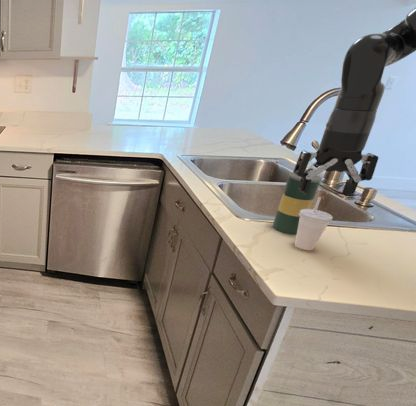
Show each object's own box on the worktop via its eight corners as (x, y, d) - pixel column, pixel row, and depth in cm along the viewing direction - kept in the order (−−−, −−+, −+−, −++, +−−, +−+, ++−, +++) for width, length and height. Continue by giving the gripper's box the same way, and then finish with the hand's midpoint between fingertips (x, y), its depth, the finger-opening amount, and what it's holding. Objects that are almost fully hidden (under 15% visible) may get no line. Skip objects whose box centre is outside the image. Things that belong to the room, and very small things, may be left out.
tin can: (306, 231, 104) (327, 177, 97) (293, 236, 101) (313, 182, 95) (279, 221, 110) (297, 170, 103) (266, 226, 107) (283, 174, 100)
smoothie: (302, 239, 100) (319, 192, 94) (326, 251, 94) (347, 201, 88) (282, 242, 99) (298, 194, 93) (305, 254, 93) (324, 204, 87)
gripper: (317, 130, 83) (296, 196, 89) (399, 132, 78) (370, 202, 85) (302, 124, 89) (283, 186, 96) (377, 126, 85) (351, 191, 91)
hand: (324, 193), depth 90 cm, fingers open, 8 cm apart
